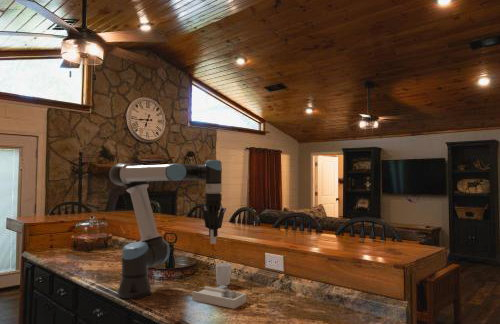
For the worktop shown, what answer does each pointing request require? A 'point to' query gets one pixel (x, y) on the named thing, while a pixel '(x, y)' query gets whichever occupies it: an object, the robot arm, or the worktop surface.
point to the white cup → (223, 273)
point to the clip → (229, 294)
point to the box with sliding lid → (218, 297)
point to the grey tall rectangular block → (222, 287)
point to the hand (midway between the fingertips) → (213, 243)
